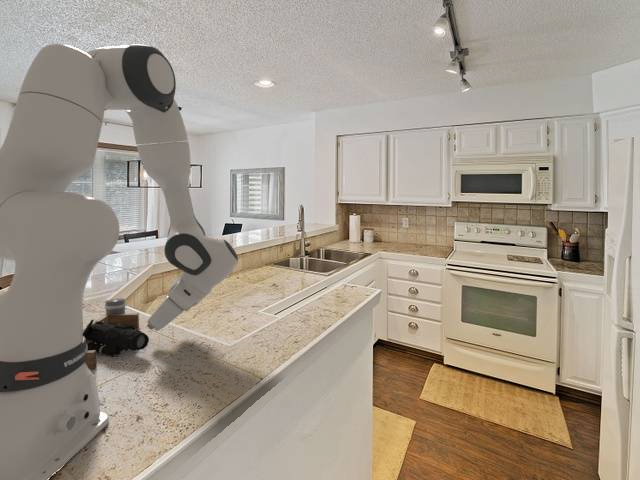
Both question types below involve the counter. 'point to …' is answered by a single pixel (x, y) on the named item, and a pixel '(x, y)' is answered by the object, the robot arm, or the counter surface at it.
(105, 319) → the bracket
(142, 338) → the night vision scope
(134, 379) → the counter surface
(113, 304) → the gray domed cylinder
